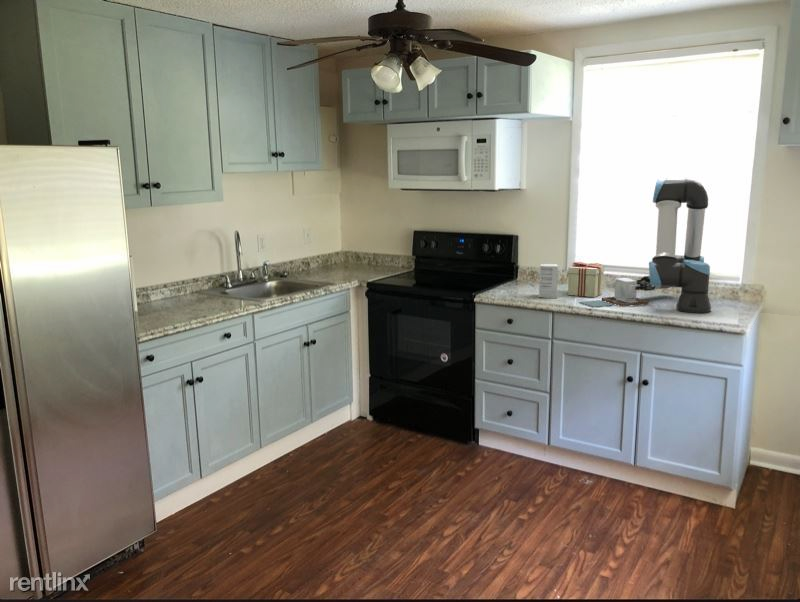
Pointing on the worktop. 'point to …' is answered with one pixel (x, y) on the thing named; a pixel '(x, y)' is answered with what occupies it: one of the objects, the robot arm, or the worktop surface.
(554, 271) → the supplement box
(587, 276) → the gift box
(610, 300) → the walnut collar
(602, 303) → the rubber mat
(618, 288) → the skincare box
